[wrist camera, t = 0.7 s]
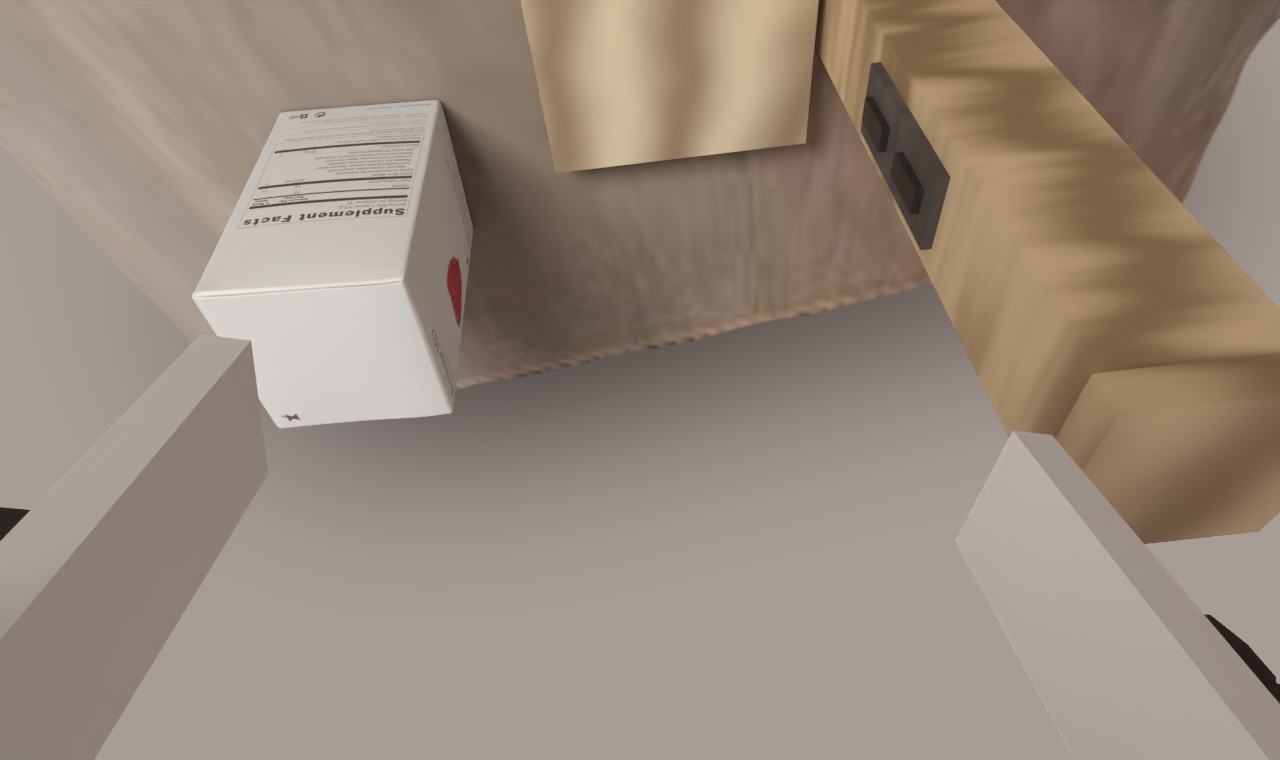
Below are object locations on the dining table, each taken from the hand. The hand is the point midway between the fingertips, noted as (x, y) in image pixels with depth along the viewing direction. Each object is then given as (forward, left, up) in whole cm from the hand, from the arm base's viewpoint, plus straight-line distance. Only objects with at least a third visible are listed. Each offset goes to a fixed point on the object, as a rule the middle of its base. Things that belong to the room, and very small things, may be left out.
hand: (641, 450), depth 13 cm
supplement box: (-1, -19, -31) cm, 36 cm away
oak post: (+13, +5, -31) cm, 34 cm away
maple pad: (+6, -2, -31) cm, 31 cm away
